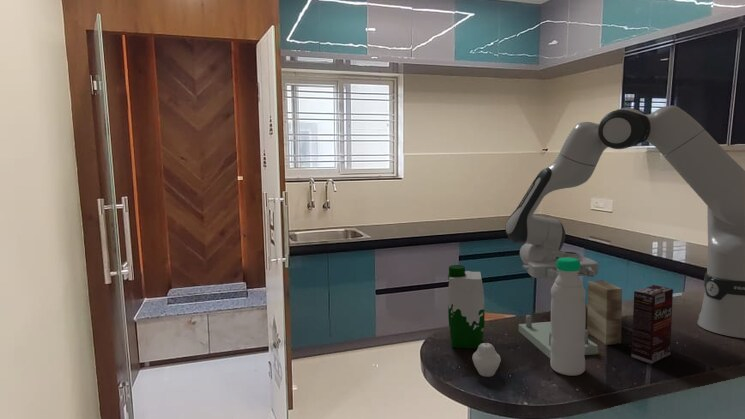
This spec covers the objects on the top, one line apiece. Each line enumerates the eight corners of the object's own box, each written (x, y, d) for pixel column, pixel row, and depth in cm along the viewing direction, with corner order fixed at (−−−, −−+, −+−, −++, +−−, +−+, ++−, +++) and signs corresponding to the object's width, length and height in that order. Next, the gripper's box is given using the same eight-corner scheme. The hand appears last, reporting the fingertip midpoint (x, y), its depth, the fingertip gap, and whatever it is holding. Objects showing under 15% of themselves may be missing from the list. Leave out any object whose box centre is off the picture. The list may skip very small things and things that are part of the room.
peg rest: (560, 327, 124) (560, 310, 124) (597, 353, 108) (598, 333, 107) (518, 331, 123) (518, 313, 123) (549, 358, 106) (549, 337, 106)
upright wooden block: (601, 331, 121) (602, 280, 119) (620, 343, 113) (622, 288, 111) (587, 332, 120) (587, 281, 119) (605, 344, 113) (606, 289, 111)
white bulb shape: (467, 375, 100) (466, 344, 99) (480, 364, 104) (479, 335, 104) (493, 383, 96) (493, 351, 95) (505, 372, 100) (505, 341, 100)
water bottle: (556, 377, 97) (557, 263, 94) (546, 362, 104) (546, 255, 101) (590, 376, 97) (592, 262, 94) (577, 362, 104) (578, 255, 101)
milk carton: (449, 335, 122) (448, 262, 120) (484, 336, 120) (483, 263, 118) (448, 348, 114) (446, 271, 111) (485, 350, 112) (484, 271, 110)
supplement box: (652, 365, 101) (654, 295, 99) (630, 357, 105) (632, 290, 103) (672, 355, 105) (674, 288, 104) (650, 348, 110) (652, 284, 108)
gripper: (520, 255, 140) (541, 266, 126) (582, 252, 142) (610, 262, 128) (519, 275, 140) (541, 288, 127) (581, 271, 142) (609, 284, 129)
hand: (576, 275), depth 127 cm, fingers open, 8 cm apart
